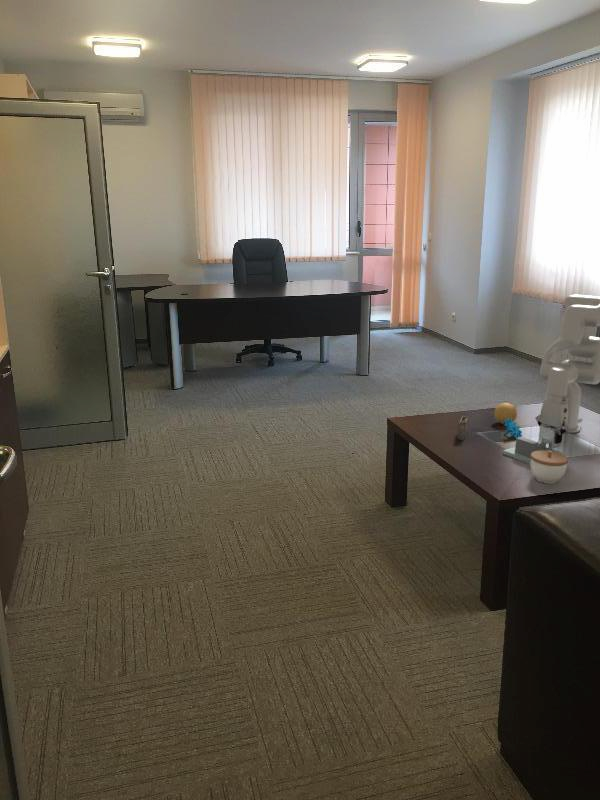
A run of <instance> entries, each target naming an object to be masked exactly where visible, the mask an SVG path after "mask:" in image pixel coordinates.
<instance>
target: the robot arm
mask: <svg viewBox="0 0 600 800" xmlns="http://www.w3.org/2000/svg"><path fill="white" fill-rule="evenodd" d="M563 304H564V310H565V311H564V316H563V320H562V324H561V329H560V334H559V336H558V339H557V340H555V341H553V342H552V344H550V345H549V346H548V347H547V349H545V352H544V354H543V355H542V360H541V364H540V368H539V376H540V378H541V379H543V380H545V381H547V384H546V385H547V387H546V394H545V399H544V400H543V402H542V406H541V408H540V409H541V410H540V413H539V414H538V415H537V416H535V418H534V419H535V420H536V422H537V425H538V427H539V429H540V426H542V425H550V426H553V427H556V428H557V432H558V434H557V435H556V441H555V443H556V444H559V443H561V442H562V437H563V438H564V435H565V433H568V434H569V433H571V434H573V433H574V434H575V433H579V432H580V431H581V427H580V426H579V425H578V424H579V423H582V422H583V418H582V417H579V413H580V405H581V401H582V400H581V398H582V389H581V387H580V386H579V383H580V384H586V385H587V384H589V385H598V384H600V337H598V336H592V335H590V332H591V331H590V330H591V327H592V328H598V327H600V296H599V295H586V294H569V295H567V296H566V297H565V298H564V303H563ZM564 350H565V352H566V354H567V355H568V356H570V357H575V358H582V359H583V358H584V359H591V361H586V360H585V361H584V360H578V359H565V360H562V361H561V362H560V363H559V362H552V361H551V359H552V357H553V356H554V355H555V354H557V353H558V352H561V351H564ZM563 427H564V428H563ZM563 434H564V435H563ZM562 443H563V442H562Z"/></svg>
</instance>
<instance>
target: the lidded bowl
mask: <svg viewBox="0 0 600 800" xmlns="http://www.w3.org/2000/svg"><path fill="white" fill-rule="evenodd" d="M568 462H569V458H568V457H567V455H566V456H565V455H563V454H561V453H558V452H554V451H547V450H539V451H534V452H532V453H531V461H530V464H529V465H530V466H529V467H530V471H531V473H532V475H533V476H534V478H535V480H536V481H538V482H540V481H541V483H542V482H544V483H543V484H548V483H553V484H556V483H557V482H558V481H560V480H561V479H562V478H563V477H564V475H565V473H566V470H567V467H568Z"/></svg>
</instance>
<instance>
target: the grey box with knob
mask: <svg viewBox="0 0 600 800" xmlns="http://www.w3.org/2000/svg"><path fill="white" fill-rule="evenodd" d="M539 427H540V428H539V432H538V441H537V442H538V444H541V443H545V444H546V445H548V446H547V448H549V449H553V450H555V449H557V448H560V447H563V440H564V435H565V433H564V434H563V437H562V442H561V443H559V444H556V443H555V441H556V435H557V434H558V432H557V428H556V427H553V426H550V425H542V426H539ZM563 428H564V427H563Z"/></svg>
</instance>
